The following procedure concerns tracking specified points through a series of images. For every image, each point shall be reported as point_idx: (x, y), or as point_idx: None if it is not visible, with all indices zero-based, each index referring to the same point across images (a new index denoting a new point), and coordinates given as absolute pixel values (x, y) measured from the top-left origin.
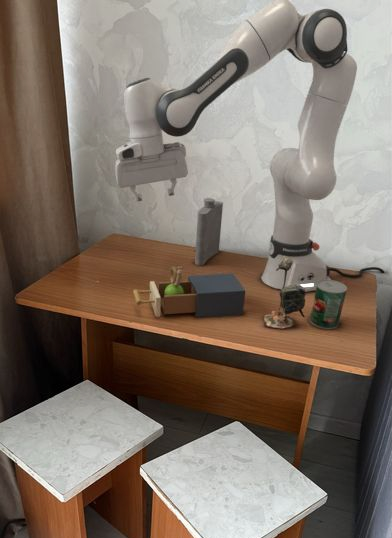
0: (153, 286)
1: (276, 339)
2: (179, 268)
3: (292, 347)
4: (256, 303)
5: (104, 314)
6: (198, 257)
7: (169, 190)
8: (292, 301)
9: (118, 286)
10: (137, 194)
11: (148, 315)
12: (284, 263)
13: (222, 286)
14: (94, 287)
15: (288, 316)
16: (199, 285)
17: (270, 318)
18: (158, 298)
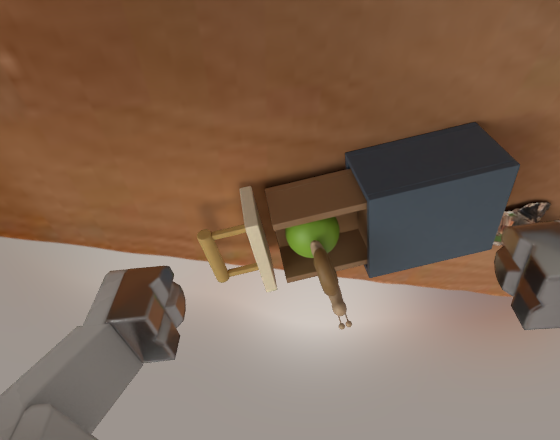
0: (257, 252)
1: (472, 265)
2: (342, 326)
3: (483, 278)
4: (521, 151)
5: (133, 247)
6: None
7: (530, 321)
8: None
9: (111, 95)
10: (133, 373)
11: (241, 236)
12: None
13: (444, 241)
14: (23, 113)
15: (548, 204)
16: (385, 246)
17: (499, 236)
18: (271, 289)
